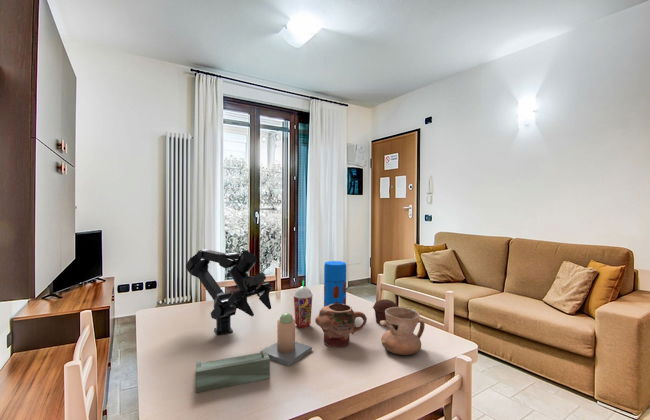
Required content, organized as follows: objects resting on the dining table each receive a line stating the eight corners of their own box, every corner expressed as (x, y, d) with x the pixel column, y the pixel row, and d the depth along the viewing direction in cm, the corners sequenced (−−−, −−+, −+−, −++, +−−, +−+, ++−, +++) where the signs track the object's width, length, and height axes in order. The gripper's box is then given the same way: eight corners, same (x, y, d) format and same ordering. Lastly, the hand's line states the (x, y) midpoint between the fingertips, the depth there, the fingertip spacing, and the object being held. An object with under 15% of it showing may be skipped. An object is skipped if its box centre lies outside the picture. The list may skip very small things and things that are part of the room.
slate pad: (260, 355, 111) (260, 351, 111) (284, 342, 122) (284, 338, 122) (288, 366, 104) (288, 361, 104) (311, 350, 115) (311, 346, 115)
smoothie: (309, 330, 134) (310, 283, 133) (290, 328, 136) (291, 282, 135) (314, 322, 142) (314, 278, 142) (296, 321, 144) (296, 277, 143)
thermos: (349, 312, 155) (350, 262, 155) (339, 319, 146) (339, 266, 146) (331, 308, 161) (331, 260, 161) (319, 314, 152) (319, 263, 152)
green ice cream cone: (273, 350, 112) (273, 314, 111) (283, 343, 117) (283, 309, 117) (288, 354, 109) (288, 317, 109) (298, 347, 115) (298, 311, 114)
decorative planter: (362, 334, 130) (362, 301, 129) (369, 348, 118) (370, 311, 117) (313, 336, 127) (314, 302, 127) (316, 350, 115) (316, 313, 115)
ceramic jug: (387, 361, 108) (388, 320, 107) (371, 342, 122) (373, 306, 121) (434, 357, 112) (436, 318, 111) (414, 339, 126) (415, 304, 125)
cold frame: (196, 369, 101) (196, 351, 101) (261, 358, 109) (261, 341, 109) (196, 392, 89) (196, 372, 89) (269, 378, 97) (269, 358, 97)
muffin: (397, 318, 148) (397, 297, 148) (400, 327, 137) (400, 304, 137) (371, 317, 150) (372, 296, 149) (373, 326, 139) (373, 303, 138)
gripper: (233, 270, 114) (254, 306, 108) (268, 262, 129) (289, 293, 124) (218, 289, 118) (238, 324, 112) (255, 279, 134) (274, 310, 128)
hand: (262, 312), depth 119 cm, fingers open, 9 cm apart
